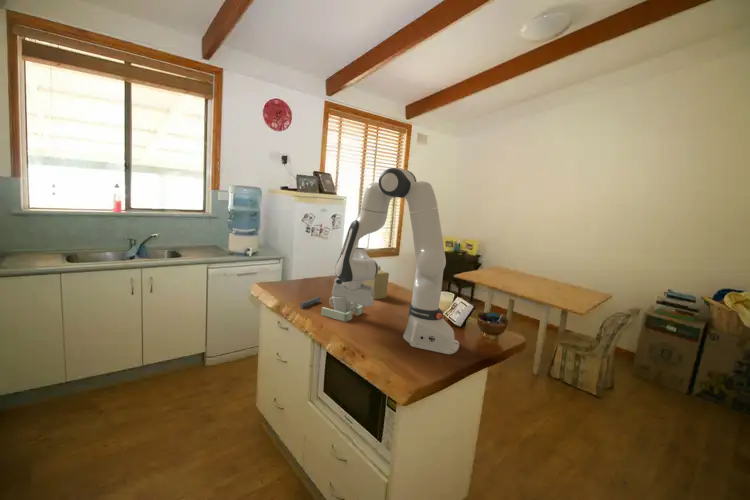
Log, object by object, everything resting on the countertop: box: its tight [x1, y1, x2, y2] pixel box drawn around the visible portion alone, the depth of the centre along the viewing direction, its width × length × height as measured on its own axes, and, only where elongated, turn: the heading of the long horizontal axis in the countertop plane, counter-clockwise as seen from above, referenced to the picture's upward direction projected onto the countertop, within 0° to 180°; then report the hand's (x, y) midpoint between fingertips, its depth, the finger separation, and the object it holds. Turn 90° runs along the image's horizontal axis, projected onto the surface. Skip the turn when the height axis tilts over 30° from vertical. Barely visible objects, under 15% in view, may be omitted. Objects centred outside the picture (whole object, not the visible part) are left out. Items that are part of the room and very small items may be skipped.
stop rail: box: [300, 296, 321, 310], centre depth 169 cm, size 2×14×2 cm, turn 154°
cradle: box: [320, 303, 365, 323], centre depth 162 cm, size 13×16×4 cm
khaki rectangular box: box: [364, 269, 390, 300], centre depth 199 cm, size 22×10×15 cm, turn 39°
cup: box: [328, 296, 349, 313], centre depth 162 cm, size 11×8×8 cm
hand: (350, 311), depth 160 cm, fingers closed
